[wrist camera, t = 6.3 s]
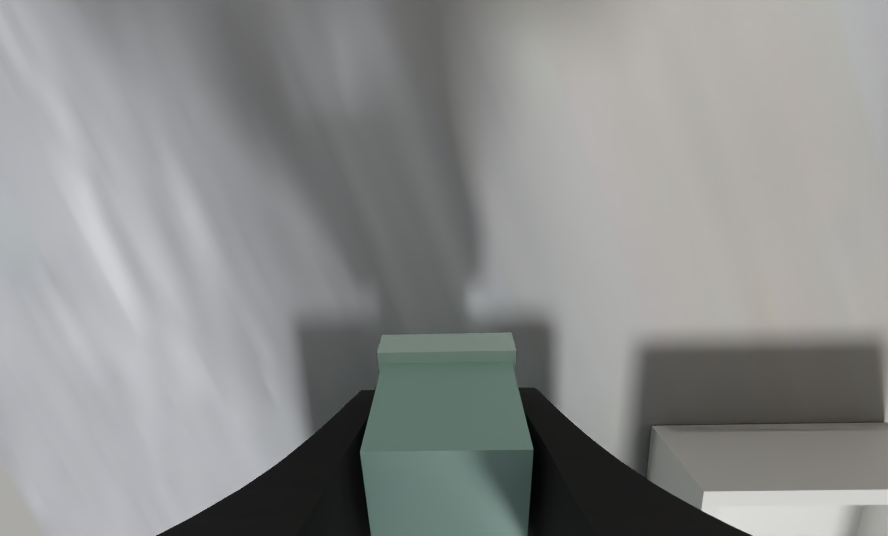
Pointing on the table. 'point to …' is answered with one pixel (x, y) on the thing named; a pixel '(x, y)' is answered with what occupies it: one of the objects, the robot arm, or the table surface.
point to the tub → (778, 475)
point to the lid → (447, 438)
